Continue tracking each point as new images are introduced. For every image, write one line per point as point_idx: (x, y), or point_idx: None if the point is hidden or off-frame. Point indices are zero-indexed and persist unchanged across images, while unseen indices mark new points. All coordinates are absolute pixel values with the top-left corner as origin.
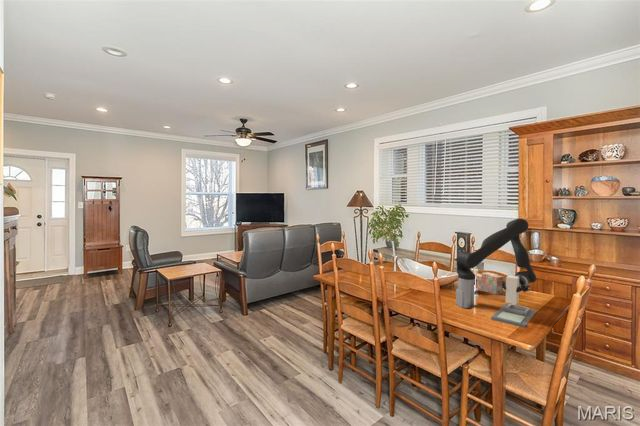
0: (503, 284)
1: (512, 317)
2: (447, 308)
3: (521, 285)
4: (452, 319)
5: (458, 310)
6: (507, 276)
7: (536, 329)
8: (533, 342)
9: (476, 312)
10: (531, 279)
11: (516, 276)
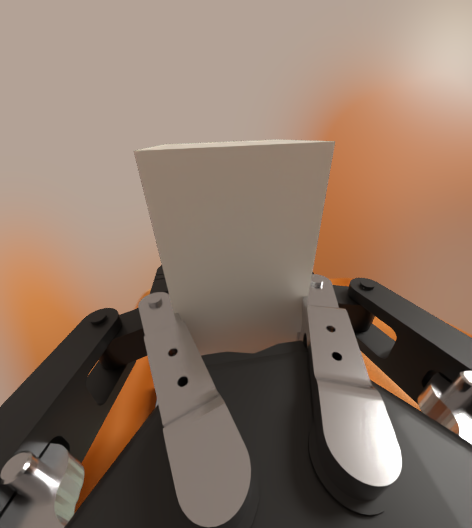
0: (351, 289)
1: None
2: (466, 334)
3: (139, 429)
4: (345, 280)
5: None
6: (282, 140)
7: (116, 414)
8: (138, 303)
9: (400, 393)
10: None
11: (189, 148)
